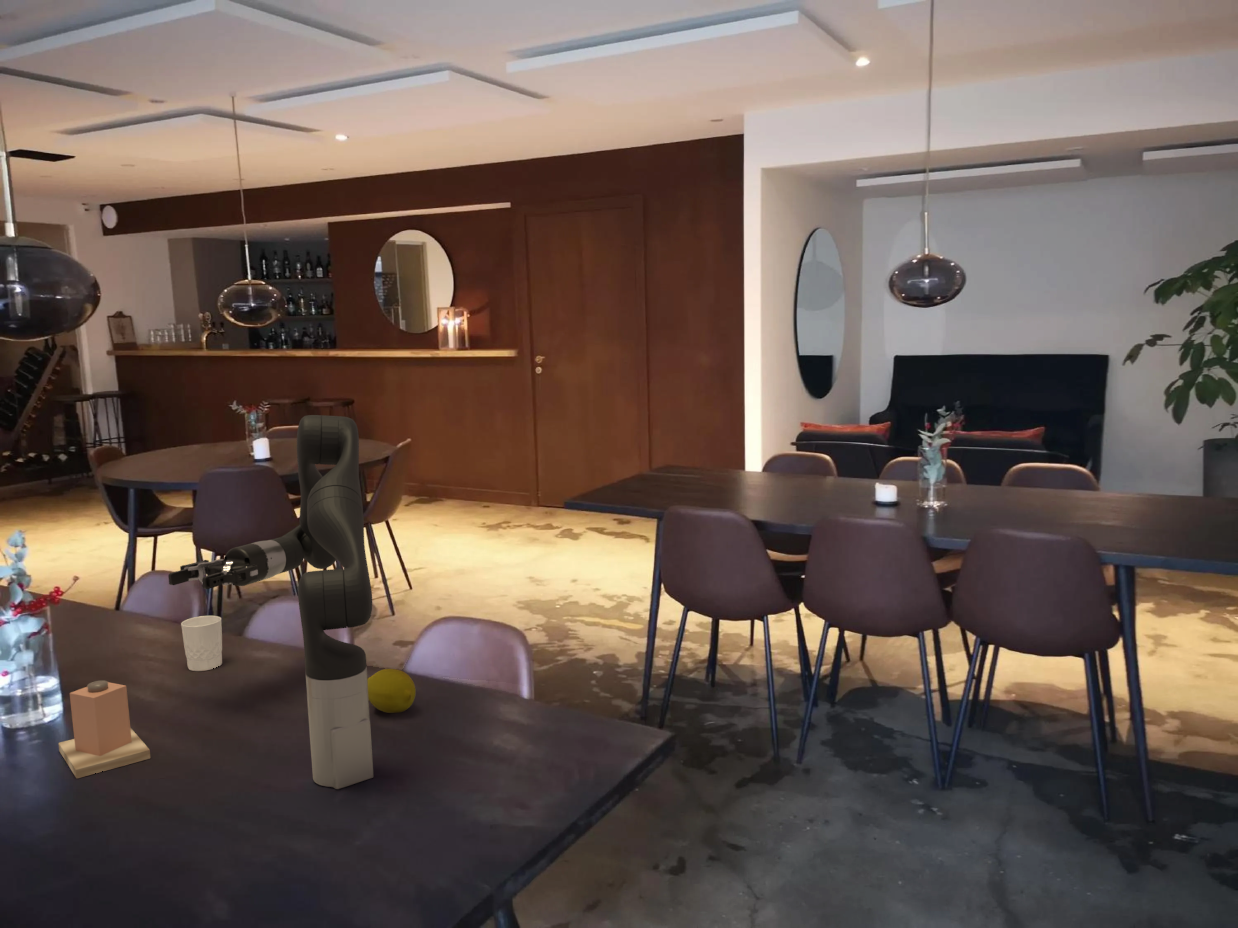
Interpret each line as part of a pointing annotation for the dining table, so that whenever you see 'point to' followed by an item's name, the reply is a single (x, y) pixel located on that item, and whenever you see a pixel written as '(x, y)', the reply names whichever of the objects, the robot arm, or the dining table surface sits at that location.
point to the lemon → (391, 690)
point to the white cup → (202, 642)
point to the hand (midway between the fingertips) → (186, 581)
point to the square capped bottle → (100, 717)
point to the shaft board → (103, 757)
